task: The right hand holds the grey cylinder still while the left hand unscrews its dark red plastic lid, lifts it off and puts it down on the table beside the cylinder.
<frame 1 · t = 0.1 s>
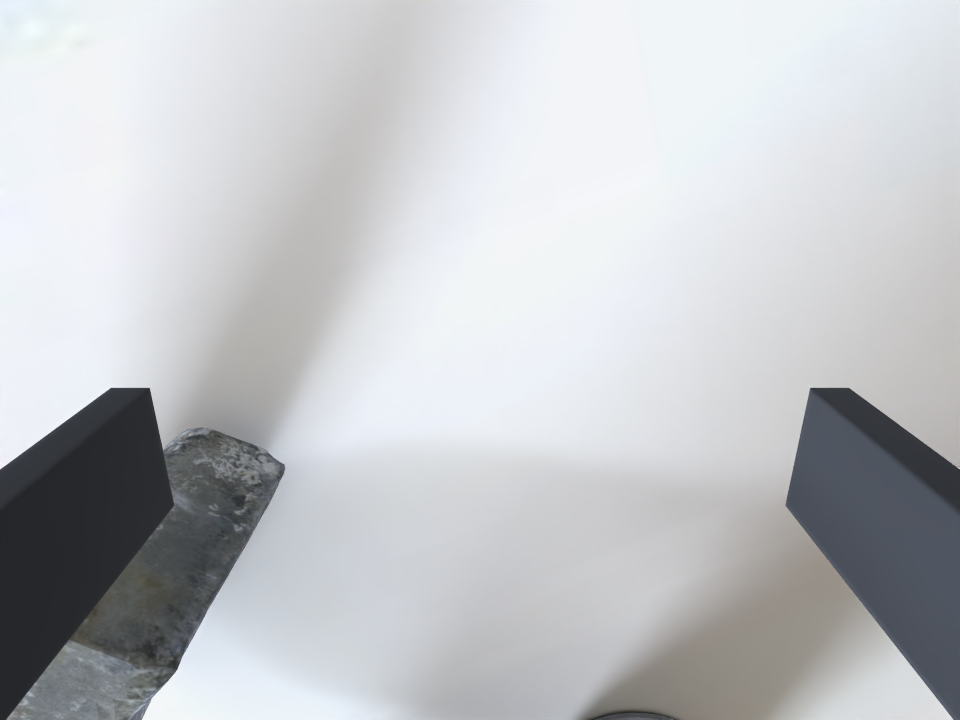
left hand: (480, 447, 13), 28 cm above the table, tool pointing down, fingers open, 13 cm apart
concrete block: (183, 544, 48), on the table
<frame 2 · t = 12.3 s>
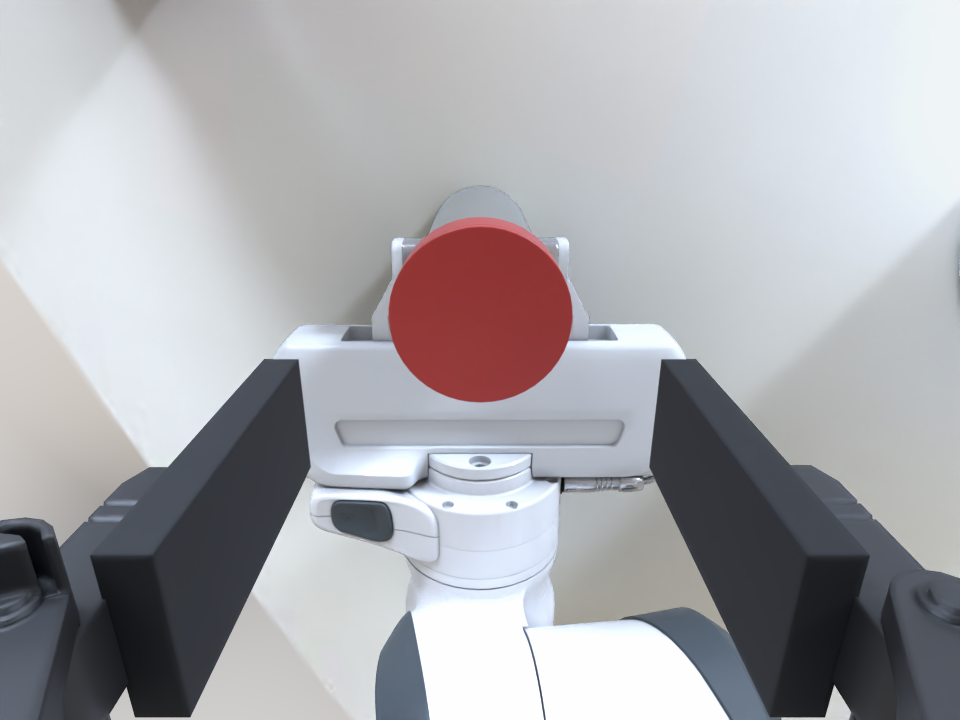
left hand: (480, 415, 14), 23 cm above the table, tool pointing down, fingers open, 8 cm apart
grey cylinder: (479, 233, 36), on the table, touching right hand
lid: (480, 316, 21), point 16 cm above the table, screwed on, not yet turned
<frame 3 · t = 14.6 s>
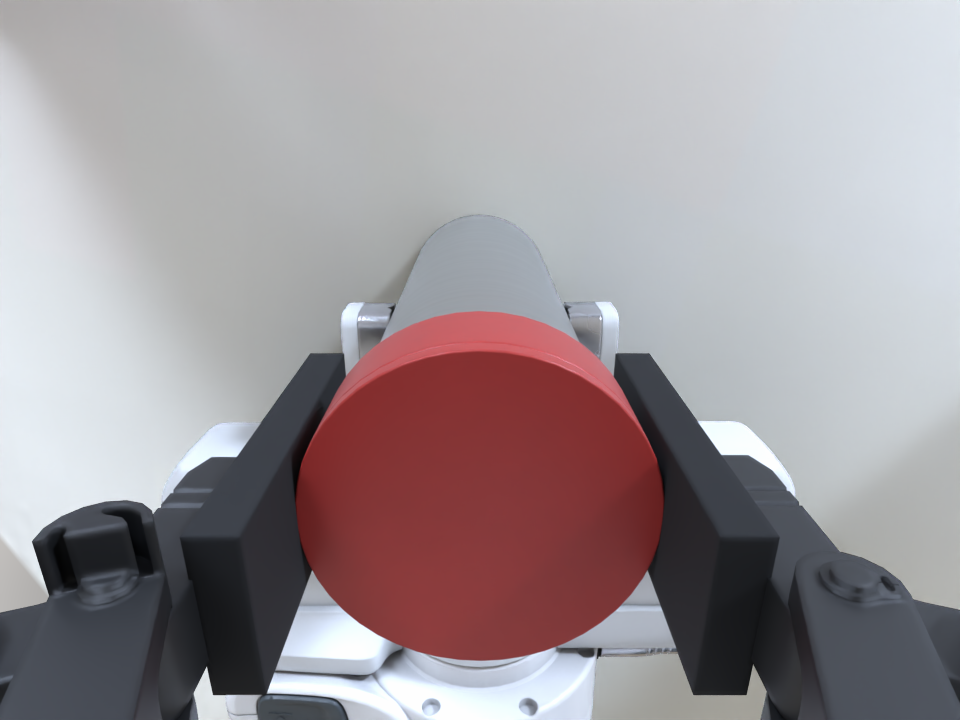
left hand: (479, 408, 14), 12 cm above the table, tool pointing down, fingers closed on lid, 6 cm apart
grey cylinder: (479, 281, 25), on the table, touching right hand
lid: (479, 510, 11), point 16 cm above the table, screwed on, not yet turned, touching left hand
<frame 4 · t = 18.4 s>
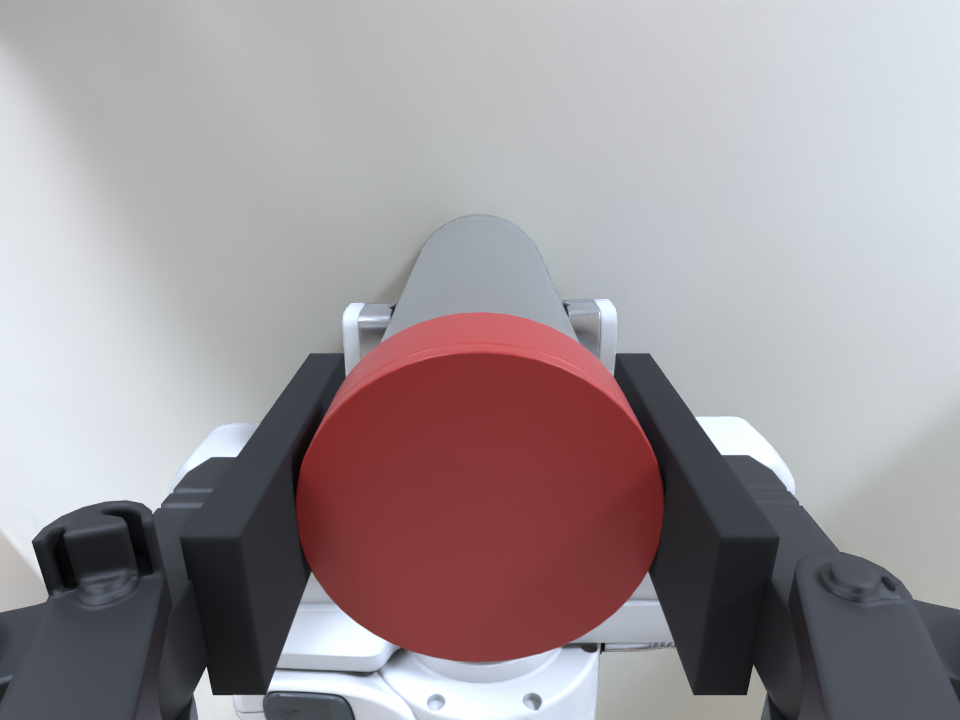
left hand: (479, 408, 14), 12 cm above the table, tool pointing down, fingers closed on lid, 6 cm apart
grey cylinder: (479, 280, 26), on the table, touching right hand
lid: (479, 511, 11), point 16 cm above the table, turned 133° so far, risen 0.2 cm, still on its thread, touching left hand
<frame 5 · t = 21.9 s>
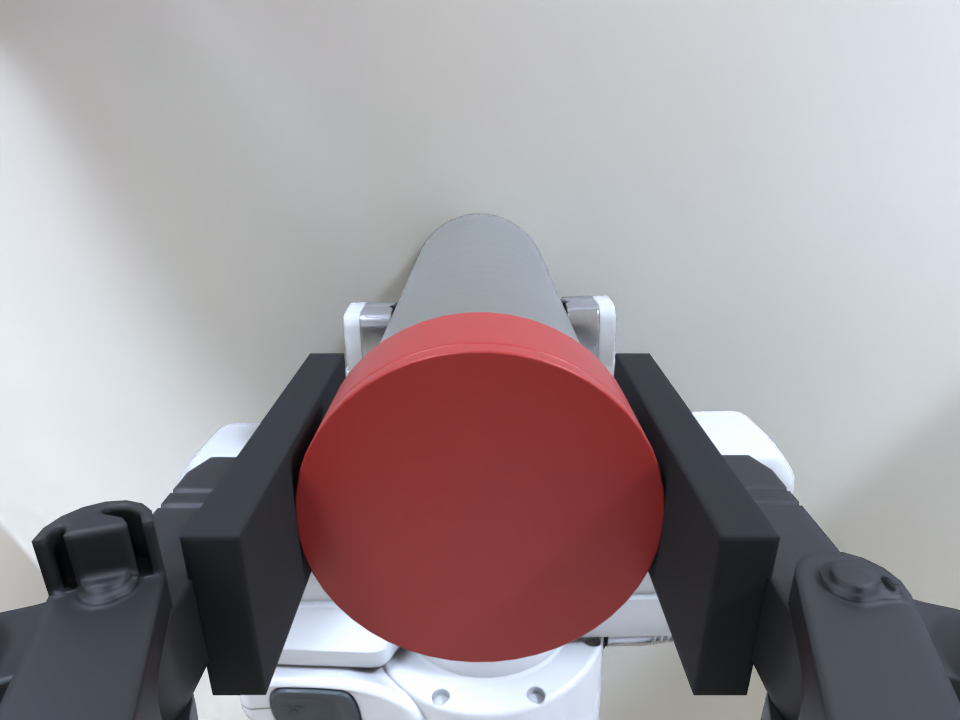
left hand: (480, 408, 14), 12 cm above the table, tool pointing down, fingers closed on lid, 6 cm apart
grey cylinder: (479, 279, 26), on the table, touching right hand
lid: (479, 511, 11), point 16 cm above the table, turned 266° so far, risen 0.4 cm, still on its thread, touching left hand
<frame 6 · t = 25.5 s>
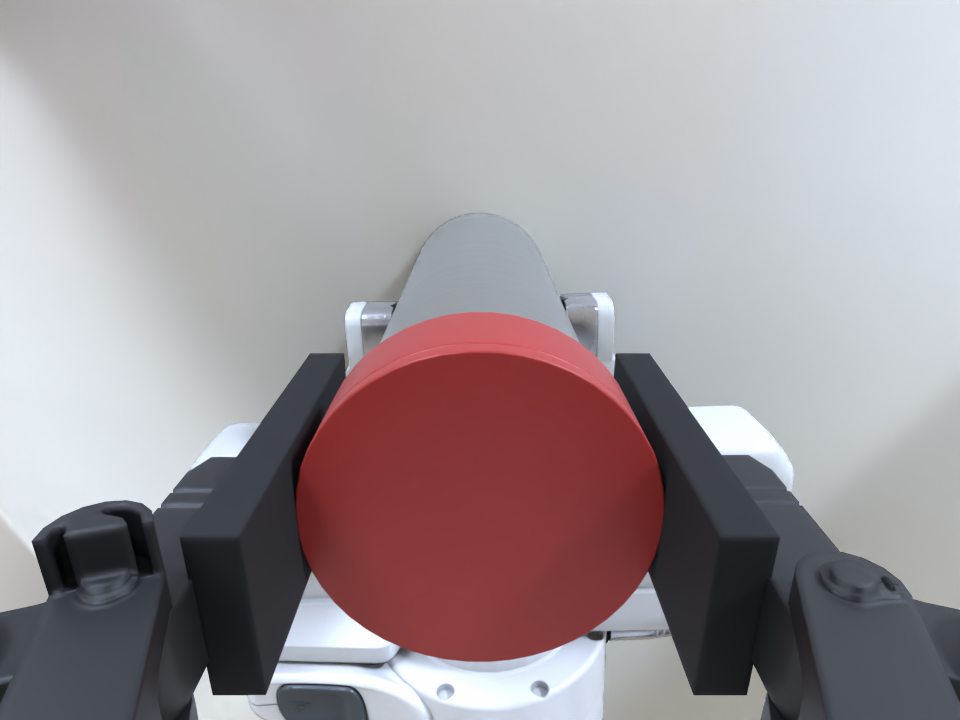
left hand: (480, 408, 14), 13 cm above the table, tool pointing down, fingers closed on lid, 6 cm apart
grey cylinder: (479, 278, 26), on the table, touching right hand
lid: (479, 511, 11), point 17 cm above the table, turned 398° so far, risen 0.6 cm, still on its thread, touching left hand
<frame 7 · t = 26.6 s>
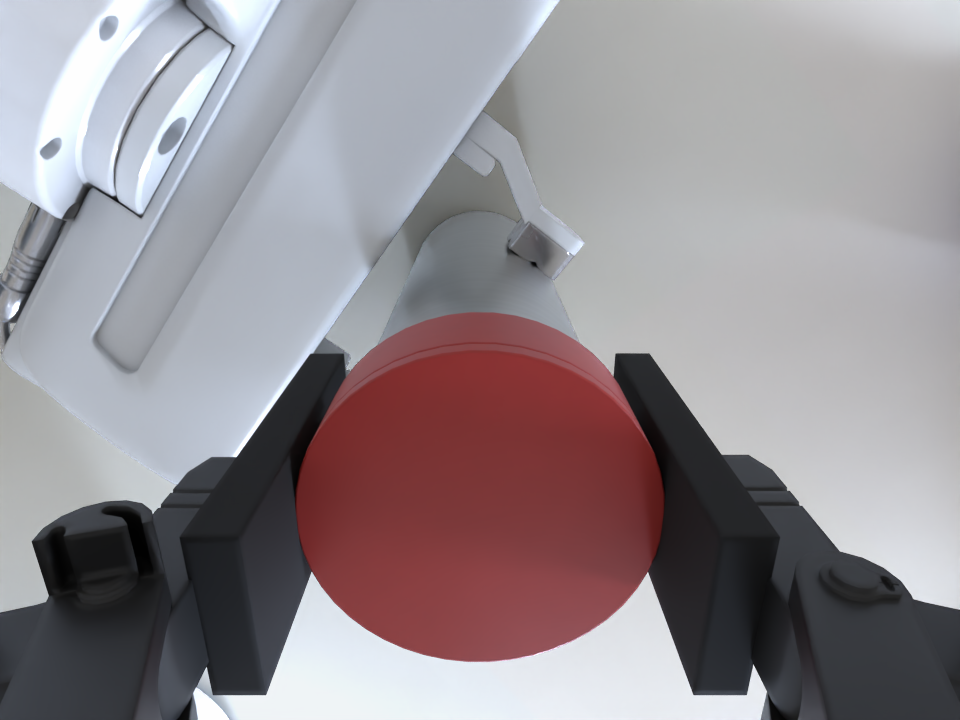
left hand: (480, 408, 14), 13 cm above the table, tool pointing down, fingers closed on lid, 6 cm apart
right hand: (502, 339, 20), fingers closed on grey cylinder, 5 cm apart
grey cylinder: (479, 275, 26), on the table, touching right hand
lid: (479, 511, 11), point 17 cm above the table, off its thread, touching left hand
when the left hand's fingers open (0 cm above the table, at t = 33.1 s): lid drops 2 cm, point 2 cm above the table.
when the right hand's fingers open (7 cm above the table, at t = 34.3 s): grey cylinder stays where it is, on the table.
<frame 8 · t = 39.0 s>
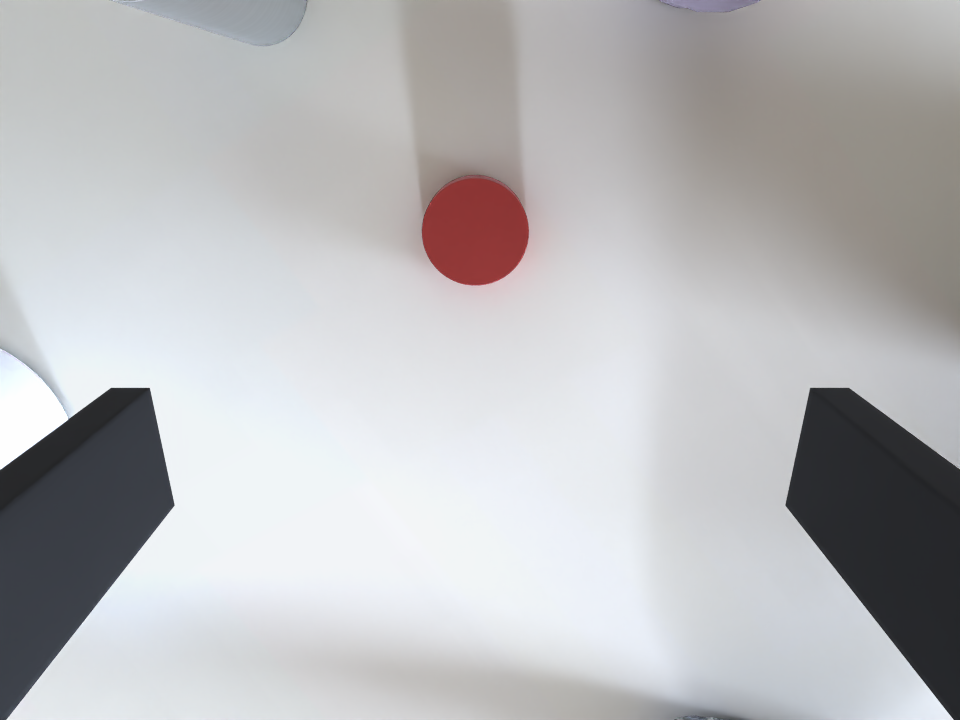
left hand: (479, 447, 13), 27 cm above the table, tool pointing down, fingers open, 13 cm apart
lid: (475, 232, 36), point 2 cm above the table, off its thread
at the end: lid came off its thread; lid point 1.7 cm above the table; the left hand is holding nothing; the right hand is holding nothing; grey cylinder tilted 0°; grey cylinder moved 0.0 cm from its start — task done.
